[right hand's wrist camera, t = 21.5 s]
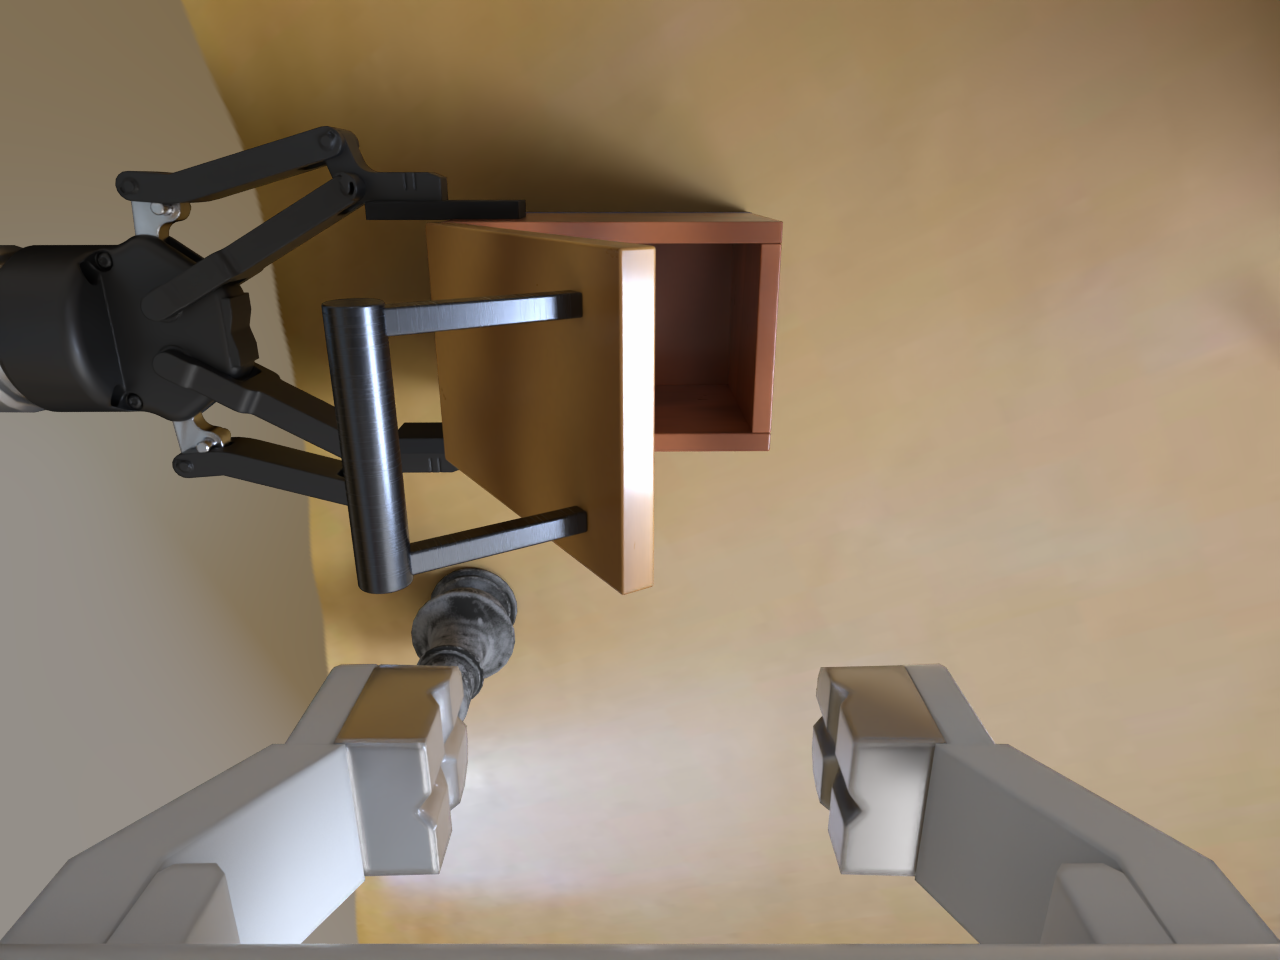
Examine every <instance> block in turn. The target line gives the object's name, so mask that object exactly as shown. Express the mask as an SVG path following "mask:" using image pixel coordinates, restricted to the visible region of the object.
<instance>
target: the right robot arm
mask: <svg viewBox="0 0 1280 960" xmlns="http://www.w3.org/2000/svg"><path fill="white" fill-rule="evenodd" d="M463 697H464V692H463V683H462V675H461V672H460V670H459V668H458V666H430V665H377V664H341V665H338V666H336V667H334V668H333V669H332V670H331V672H330V673H329V675H328V676H327V678H326V680H325V681H324V683H323V684H322V686H321V687H320V689H319V691H318V692H317V694H316V695H315V697H314V698H313V700H312V702H311V703H310V705H309V706H308V708H307V710H306V711H305V713H304V714H303V716H302V717H301V719H300V721H299V722H298V724H297V725H296V727H295V728H294V730H293V732H292V733H291V735H290V737H289V738H288V740H287V741H286V743H285V744H272V745H270V746H268V747H266V748H264V749H263V750H261V751H259V752H257V753H256V754H254V755H252V756H250V757H249V758H247V759H245V760H243V761H242V762H240V763H238V764H236V765H235V766H233V767H231V768H229V769H227V770H226V771H224V772H222V773H220V774H219V775H217V776H215V777H213V778H212V779H210V780H208V781H206V782H205V783H203V784H201V785H199V786H198V787H196V788H194V789H192V790H190V791H189V792H187V793H185V794H183V795H182V796H180V797H178V798H177V799H175V800H173V801H171V802H169V803H168V804H166V805H164V806H162V807H161V808H159V809H157V810H155V811H154V812H152V813H150V814H148V815H146V816H145V817H143V818H141V819H139V820H138V821H136V822H134V823H132V824H131V825H129V826H127V827H125V828H124V829H122V830H120V831H118V832H117V833H115V834H113V835H111V836H109V837H108V838H106V839H104V840H102V841H101V842H99V843H97V844H95V845H94V846H92V847H90V848H88V849H87V850H85V851H83V852H81V853H80V854H78V855H76V856H74V857H72V858H71V859H69V860H68V861H67V862H66V863H65V865H64V866H63V867H62V868H61V869H60V871H59V872H58V873H57V874H56V875H55V876H54V878H53V879H52V880H51V881H50V882H49V884H48V885H47V886H46V887H45V888H44V889H43V891H42V892H41V893H40V894H39V895H38V897H37V898H36V899H35V900H34V901H33V902H32V904H31V905H30V906H29V907H28V908H27V910H26V911H25V912H24V913H23V914H22V915H21V917H20V918H19V919H18V920H17V921H16V923H15V924H14V925H13V926H12V928H11V929H10V930H9V931H8V932H7V933H6V934H5V936H4V937H3V938H2V939H1V940H0V960H1280V940H1279V939H1278V938H1277V937H1276V936H1275V934H1274V933H1273V932H1272V931H1271V930H1270V928H1269V927H1268V926H1267V925H1266V924H1265V922H1264V921H1263V920H1262V919H1261V918H1260V916H1259V915H1258V914H1257V913H1256V912H1255V910H1254V909H1253V908H1252V907H1251V906H1250V904H1249V903H1248V902H1247V901H1246V900H1245V899H1244V897H1243V896H1242V895H1241V894H1240V893H1239V891H1238V890H1237V889H1236V888H1235V887H1234V885H1233V884H1232V883H1231V882H1230V881H1229V879H1228V878H1227V877H1226V876H1225V875H1224V873H1223V872H1222V871H1221V870H1220V869H1219V867H1218V866H1217V865H1216V864H1215V863H1214V862H1213V861H1212V860H1210V859H1209V858H1207V857H1205V856H1203V855H1202V854H1200V853H1198V852H1196V851H1195V850H1193V849H1191V848H1189V847H1188V846H1186V845H1184V844H1182V843H1181V842H1179V841H1177V840H1175V839H1174V838H1172V837H1170V836H1168V835H1166V834H1165V833H1163V832H1161V831H1159V830H1158V829H1156V828H1154V827H1152V826H1151V825H1149V824H1147V823H1145V822H1144V821H1142V820H1140V819H1138V818H1137V817H1135V816H1133V815H1131V814H1130V813H1128V812H1126V811H1124V810H1123V809H1121V808H1119V807H1117V806H1116V805H1114V804H1112V803H1110V802H1109V801H1107V800H1105V799H1103V798H1102V797H1100V796H1098V795H1096V794H1095V793H1093V792H1091V791H1089V790H1088V789H1086V788H1084V787H1082V786H1080V785H1079V784H1077V783H1075V782H1073V781H1072V780H1070V779H1068V778H1066V777H1065V776H1063V775H1061V774H1059V773H1058V772H1056V771H1054V770H1052V769H1051V768H1049V767H1047V766H1045V765H1044V764H1042V763H1040V762H1038V761H1037V760H1035V759H1033V758H1031V757H1030V756H1028V755H1026V754H1024V753H1023V752H1021V751H1019V750H1017V749H1016V748H1014V747H1012V746H1010V745H1009V744H995V743H994V741H993V740H992V738H991V736H990V735H989V733H988V732H987V730H986V729H985V727H984V726H983V724H982V722H981V721H980V719H979V718H978V716H977V715H976V713H975V712H974V710H973V708H972V707H971V705H970V704H969V702H968V701H967V699H966V698H965V696H964V694H963V693H962V691H961V690H960V688H959V687H958V685H957V683H956V682H955V680H954V679H953V677H952V676H951V674H950V673H949V671H948V669H947V668H946V667H945V666H943V665H941V664H917V665H899V666H858V667H821V668H820V672H819V676H818V681H817V691H816V697H817V700H818V703H819V706H820V710H821V713H822V717H821V718H820V719H819V720H818V721H817V722H816V724H815V725H814V726H813V741H812V759H813V774H814V780H815V785H816V790H817V794H818V797H819V801H820V803H821V804H822V805H823V806H825V807H826V808H827V809H828V810H829V811H830V813H829V824H828V832H829V836H830V839H831V842H832V846H833V849H834V852H835V856H836V859H837V862H838V866H839V869H840V872H841V874H854V875H890V876H915V880H916V881H917V882H918V883H919V884H920V885H921V886H922V887H923V888H924V889H925V890H926V891H927V892H928V893H929V894H930V895H931V896H932V897H933V898H934V899H935V900H936V901H937V902H938V903H939V904H940V905H941V906H942V907H943V908H944V909H945V910H946V911H947V912H948V913H949V914H950V915H951V916H952V917H953V918H954V919H955V920H956V921H957V922H958V923H959V924H960V925H961V926H962V927H963V928H965V929H966V930H967V931H968V932H969V933H970V934H971V935H972V936H973V937H974V938H975V939H976V940H977V941H978V942H979V943H980V944H301V943H302V942H303V941H304V940H305V939H306V938H307V937H308V936H309V935H310V934H311V933H312V932H313V931H314V930H315V929H316V928H317V927H318V926H319V925H320V924H321V923H322V922H323V921H324V920H325V919H326V918H327V917H328V916H329V915H330V914H331V913H332V912H333V911H334V910H335V909H336V908H337V907H338V906H339V905H340V904H341V903H342V902H343V901H344V900H346V898H348V897H349V896H350V895H351V894H352V893H353V892H354V891H355V890H356V889H357V888H358V887H359V886H360V885H361V884H362V883H363V882H364V881H365V877H364V876H389V875H424V874H439V873H440V869H441V866H442V863H443V859H444V856H445V853H446V849H447V846H448V842H449V839H450V836H451V832H452V824H451V813H450V811H451V810H452V809H453V808H454V807H455V806H457V805H458V804H459V803H460V801H461V797H462V793H463V790H464V786H465V779H466V771H467V764H468V738H467V726H466V725H465V724H464V722H463V721H462V720H461V719H460V718H459V717H458V713H459V710H460V707H461V703H462V700H463Z"/></svg>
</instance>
